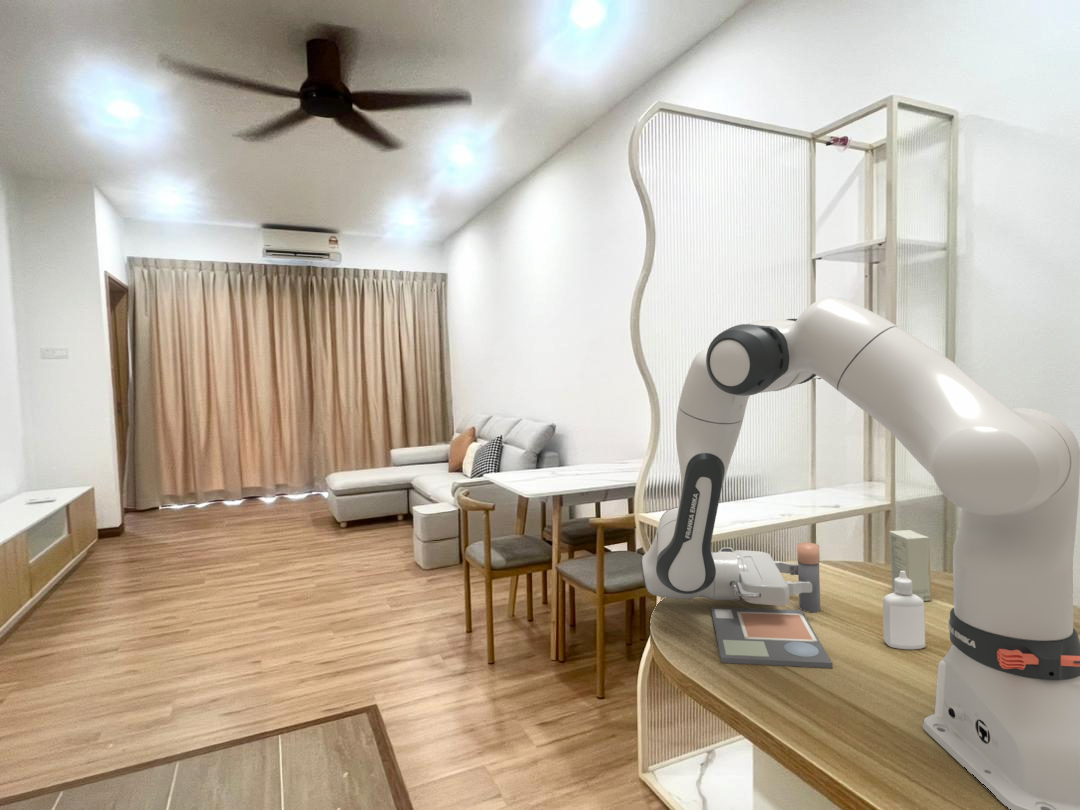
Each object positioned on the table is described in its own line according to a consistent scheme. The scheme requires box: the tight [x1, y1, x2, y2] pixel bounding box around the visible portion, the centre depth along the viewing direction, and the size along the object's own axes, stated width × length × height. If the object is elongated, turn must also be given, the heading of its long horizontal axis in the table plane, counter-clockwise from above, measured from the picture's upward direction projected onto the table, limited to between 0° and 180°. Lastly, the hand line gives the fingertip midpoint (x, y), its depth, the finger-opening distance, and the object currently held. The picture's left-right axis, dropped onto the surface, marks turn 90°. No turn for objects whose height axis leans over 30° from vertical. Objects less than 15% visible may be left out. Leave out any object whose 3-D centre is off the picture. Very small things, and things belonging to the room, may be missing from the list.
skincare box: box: [889, 529, 933, 602], centre depth 114 cm, size 6×4×12 cm
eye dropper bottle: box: [882, 571, 926, 650], centre depth 94 cm, size 4×6×12 cm
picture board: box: [710, 607, 833, 669], centre depth 100 cm, size 20×16×1 cm
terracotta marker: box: [796, 542, 821, 613], centre depth 110 cm, size 4×4×12 cm
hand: (805, 577), depth 110 cm, fingers open, 8 cm apart
